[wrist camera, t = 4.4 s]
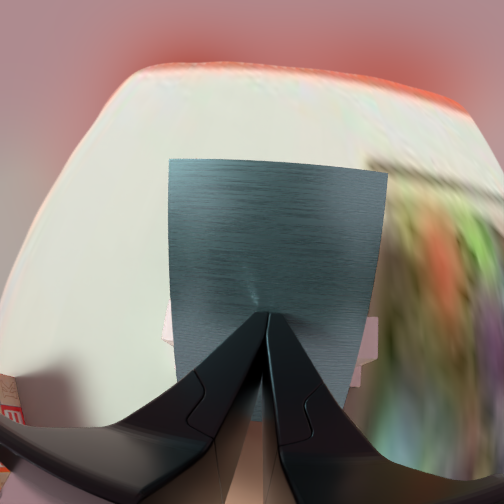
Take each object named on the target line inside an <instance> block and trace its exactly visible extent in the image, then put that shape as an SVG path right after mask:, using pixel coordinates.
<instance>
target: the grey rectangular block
mask: <svg viewBox="0 0 504 504" xmlns="http://www.w3.org/2000/svg"><path fill="white" fill-rule="evenodd" d="M387 179H388V173H382V172H375V171H367V170H359V169H351V168H342V167H333V166H322V165H311V164H299V163H286V162H270V161H251V160H225V159H169V183H168V242H169V277H170V298H171V315H172V330H173V343H174V355H175V365H176V376H177V382H178V381H180V380H181V379H182V378H183V377H184V376H185V375H187V374H188V373H189V372H190V371H191V370H193V369H194V368H195V367H196V366H197V365H198V364H199V363H200V362H201V361H202V360H203V359H204V358H206V357H207V356H208V355H209V354H210V353H211V352H212V351H213V350H214V349H215V348H217V347H218V346H219V345H220V344H221V343H222V342H223V341H224V340H225V339H226V338H227V337H228V336H229V335H231V334H232V333H233V332H234V331H235V330H236V329H237V328H238V327H239V326H240V325H241V324H242V323H243V322H244V321H245V320H246V319H248V318H249V317H250V316H251V315H252V314H253V313H254V312H266V313H268V315H269V314H270V313H279V314H283V315H284V317H285V318H286V320H287V322H288V323H289V325H290V327H291V328H292V330H293V332H294V333H295V335H296V337H297V338H298V340H299V342H300V343H301V345H302V346H303V348H304V350H305V351H306V353H307V355H308V356H309V358H310V360H311V361H312V363H313V365H314V366H315V368H316V370H317V371H318V373H319V374H320V376H321V378H322V379H323V381H324V383H325V384H326V386H327V387H328V389H329V391H330V392H331V394H332V395H333V397H334V398H335V400H336V401H337V403H338V404H339V406H340V407H341V408H342V410H343V407H344V404H345V400H346V397H347V394H348V390H349V387H350V383H351V380H352V376H353V372H354V369H355V365H356V361H357V357H358V353H359V349H360V345H361V341H362V337H363V333H364V328H365V324H366V319H367V314H368V310H369V305H370V300H371V295H372V289H373V284H374V279H375V273H376V267H377V261H378V254H379V248H380V241H381V234H382V226H383V218H384V210H385V200H386V190H387ZM251 421H257V422H262V380H261V385H260V389H259V393H258V396H257V400H256V403H255V407H254V410H253V414H252V417H251Z"/></svg>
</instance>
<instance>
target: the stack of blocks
mask: <svg viewBox="0 0 504 504" xmlns="http://www.w3.org/2000/svg"><path fill="white" fill-rule="evenodd" d="M0 413H1V414H3V415H4V416H6V417H8V418H9V419H11V420H13V421H15V422H17V423H20V424H23V425H25V421H24V417H23V413H22V409H21V405H20V400H19V396H18V391H17V386H16V382H15V378H14V377H11V376H7V375H3V374H0ZM9 473H10V471H9V470H8V469H7V468H6V467H5V466H4V465H3V464H2V463H1V462H0V489H1V487H2V485H3V484H4V482H5V480H6V479H7V477H8V475H9Z"/></svg>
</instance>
